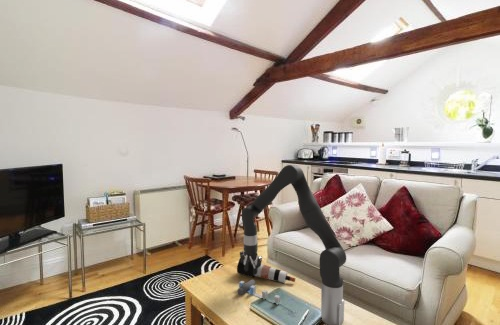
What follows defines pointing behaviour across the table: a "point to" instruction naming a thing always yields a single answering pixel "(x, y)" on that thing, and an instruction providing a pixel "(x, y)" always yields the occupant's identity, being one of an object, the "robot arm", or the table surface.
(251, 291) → the blue grey peg rack
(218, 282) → the table surface
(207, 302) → the table surface
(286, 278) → the cable
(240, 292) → the gray elongated ellipsoid
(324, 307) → the robot arm
